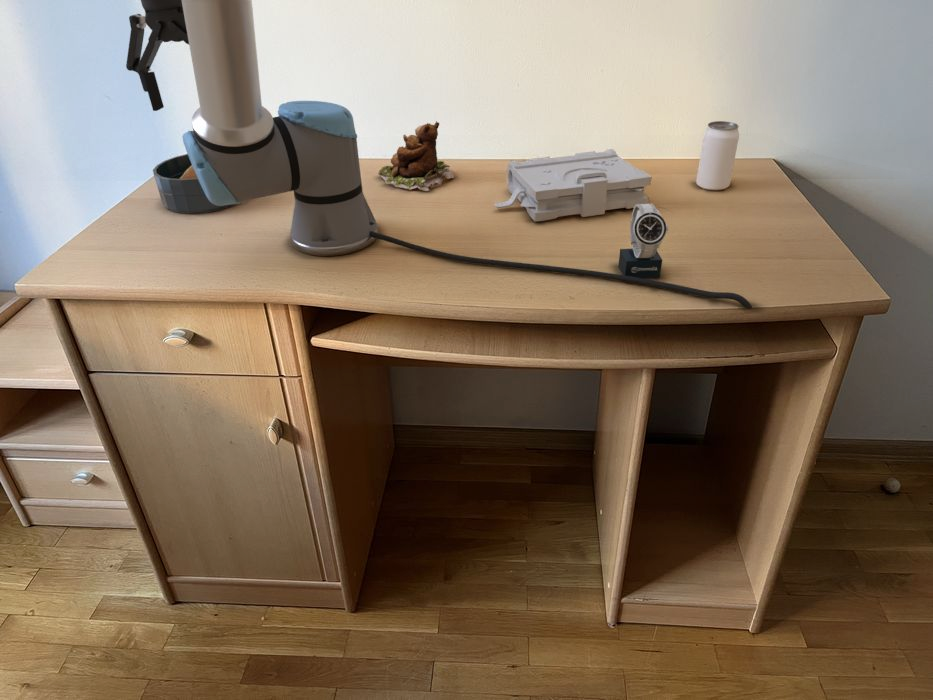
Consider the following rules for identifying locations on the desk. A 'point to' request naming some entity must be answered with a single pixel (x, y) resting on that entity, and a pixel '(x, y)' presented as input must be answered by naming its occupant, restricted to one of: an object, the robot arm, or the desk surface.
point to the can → (717, 155)
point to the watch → (644, 243)
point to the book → (575, 185)
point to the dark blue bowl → (181, 188)
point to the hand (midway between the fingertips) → (191, 109)
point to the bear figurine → (417, 162)
